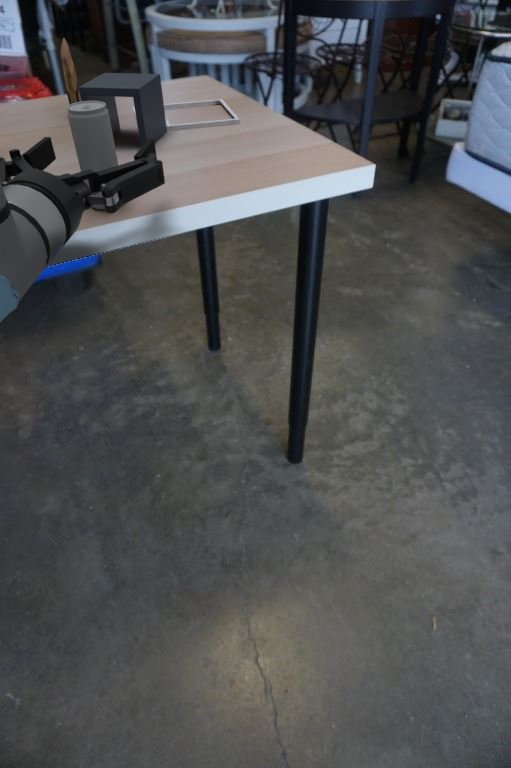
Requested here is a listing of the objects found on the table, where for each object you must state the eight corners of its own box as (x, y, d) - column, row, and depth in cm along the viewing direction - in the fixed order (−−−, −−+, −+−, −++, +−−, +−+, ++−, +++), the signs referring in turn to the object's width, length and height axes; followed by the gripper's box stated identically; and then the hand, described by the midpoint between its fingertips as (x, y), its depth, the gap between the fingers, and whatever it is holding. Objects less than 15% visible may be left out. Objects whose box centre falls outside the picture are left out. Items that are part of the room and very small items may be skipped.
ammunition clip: (74, 107, 108) (58, 37, 100) (83, 106, 108) (68, 36, 100) (73, 121, 100) (56, 47, 92) (83, 121, 100) (67, 46, 92)
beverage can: (125, 195, 73) (107, 99, 65) (125, 209, 70) (106, 109, 62) (89, 198, 73) (67, 101, 65) (87, 212, 69) (63, 112, 61)
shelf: (91, 147, 89) (78, 87, 83) (114, 129, 96) (104, 72, 90) (147, 149, 87) (138, 88, 81) (167, 131, 95) (160, 73, 89)
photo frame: (131, 105, 104) (221, 98, 107) (132, 112, 104) (222, 104, 108) (140, 127, 93) (239, 118, 97) (141, 134, 94) (240, 124, 97)
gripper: (-71, 250, 56) (18, 176, 72) (159, 259, 54) (199, 180, 70) (-104, 179, 51) (-1, 116, 67) (147, 185, 49) (193, 118, 65)
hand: (101, 148), depth 68 cm, fingers open, 13 cm apart
